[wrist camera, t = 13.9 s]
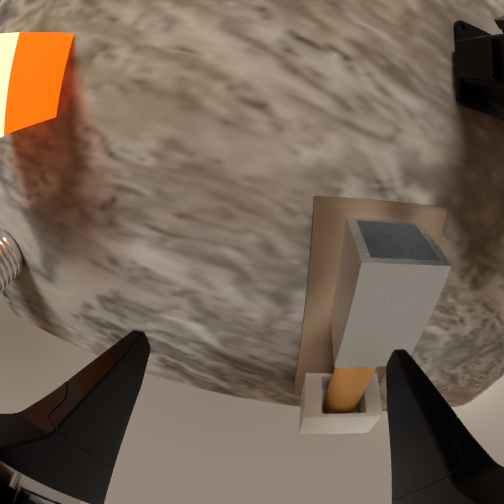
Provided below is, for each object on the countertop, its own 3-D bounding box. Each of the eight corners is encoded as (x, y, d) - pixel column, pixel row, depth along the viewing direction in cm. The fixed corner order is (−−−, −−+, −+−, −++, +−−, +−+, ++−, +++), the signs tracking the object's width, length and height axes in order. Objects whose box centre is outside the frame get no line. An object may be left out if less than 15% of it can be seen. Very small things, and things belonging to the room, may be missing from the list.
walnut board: (443, 207, 17) (447, 211, 16) (371, 388, 30) (372, 393, 29) (313, 196, 18) (314, 200, 18) (293, 388, 31) (293, 394, 30)
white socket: (376, 372, 26) (382, 414, 22) (365, 394, 29) (368, 432, 25) (305, 372, 28) (303, 416, 23) (301, 394, 30) (298, 433, 26)
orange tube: (387, 310, 20) (396, 344, 18) (353, 391, 27) (355, 418, 24) (345, 310, 21) (350, 345, 18) (322, 391, 28) (322, 419, 25)
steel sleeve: (420, 221, 17) (451, 266, 13) (391, 315, 22) (404, 365, 17) (346, 216, 18) (361, 262, 13) (330, 314, 23) (334, 367, 18)
